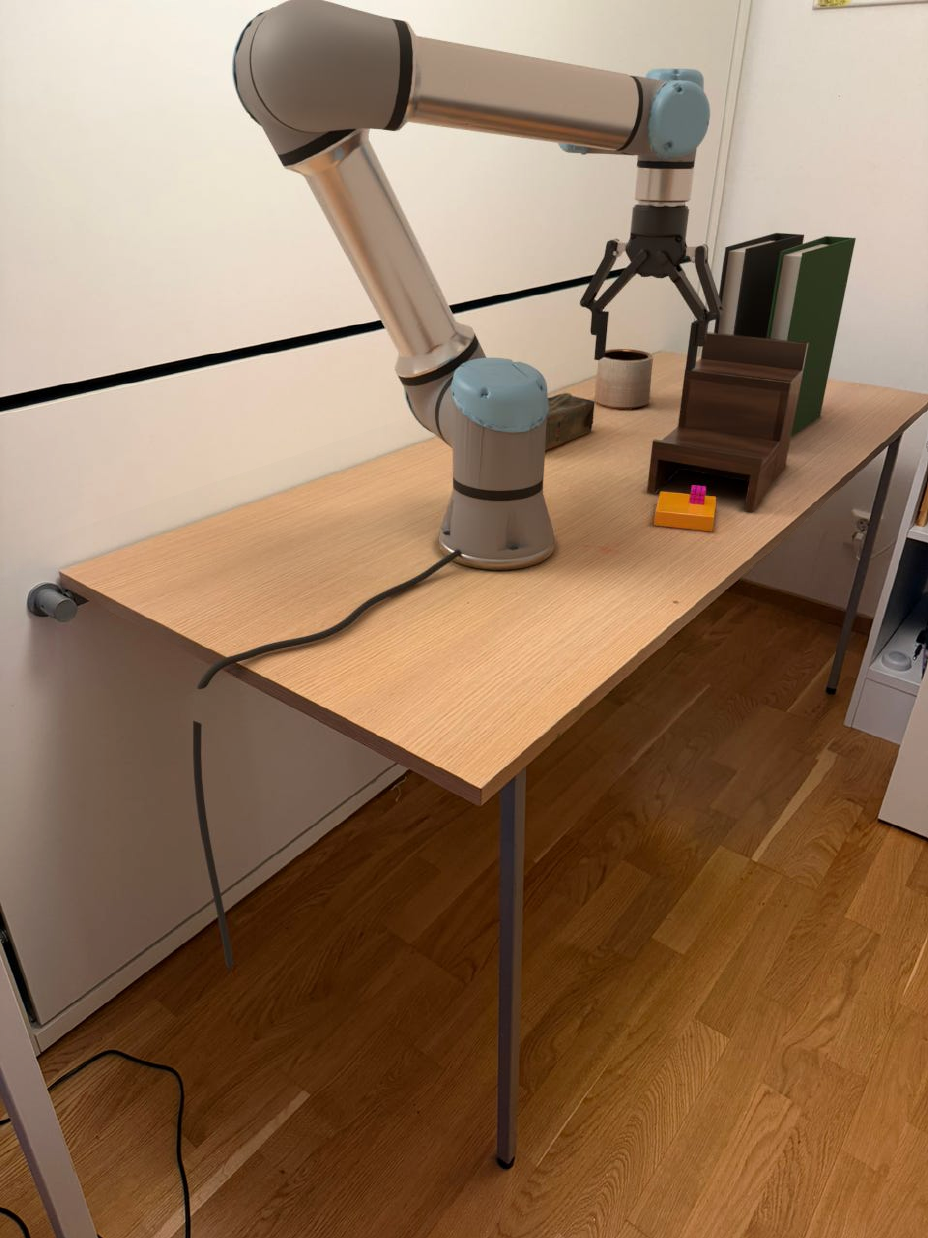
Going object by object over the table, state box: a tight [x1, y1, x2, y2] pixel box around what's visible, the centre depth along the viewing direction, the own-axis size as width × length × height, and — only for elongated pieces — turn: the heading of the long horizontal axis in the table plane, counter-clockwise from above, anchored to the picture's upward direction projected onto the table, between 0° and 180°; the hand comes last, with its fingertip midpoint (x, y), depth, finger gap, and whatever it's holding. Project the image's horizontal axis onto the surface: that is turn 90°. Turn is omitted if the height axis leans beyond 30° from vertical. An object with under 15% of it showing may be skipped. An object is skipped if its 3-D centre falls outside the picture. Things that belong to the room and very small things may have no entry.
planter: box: [594, 348, 654, 410], centre depth 178 cm, size 11×11×10 cm
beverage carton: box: [545, 392, 596, 451], centre depth 157 cm, size 8×19×7 cm, turn 140°
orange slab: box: [653, 484, 717, 532], centre depth 127 cm, size 8×8×4 cm
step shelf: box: [646, 331, 808, 513], centre depth 137 cm, size 23×16×20 cm
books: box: [713, 232, 856, 438], centre depth 159 cm, size 27×15×32 cm, turn 145°
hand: (643, 363), depth 130 cm, fingers open, 13 cm apart
